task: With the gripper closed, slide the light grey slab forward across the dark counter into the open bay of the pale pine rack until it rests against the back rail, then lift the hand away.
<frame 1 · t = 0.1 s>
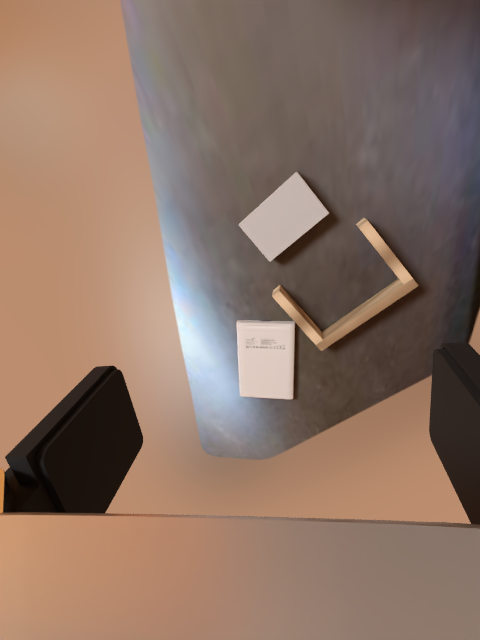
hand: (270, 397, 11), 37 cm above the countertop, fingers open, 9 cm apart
external hard drive: (266, 356, 54), on the countertop
light grey slab: (283, 216, 45), on the countertop
pine rack: (337, 281, 47), on the countertop
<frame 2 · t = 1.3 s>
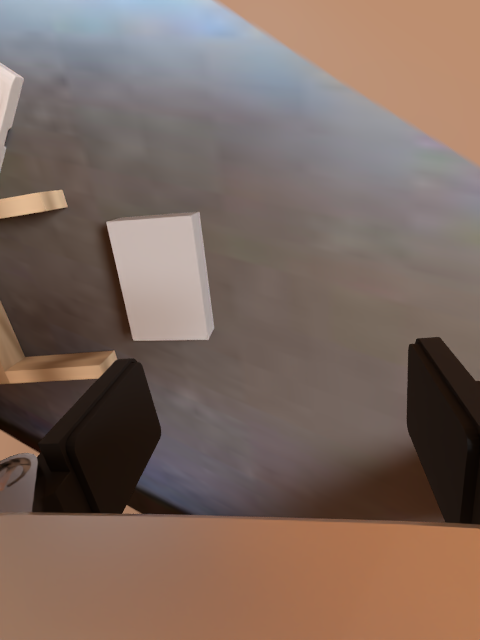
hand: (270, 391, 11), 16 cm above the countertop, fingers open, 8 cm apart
light grey slab: (170, 273, 28), on the countertop
pine rack: (44, 290, 29), on the countertop
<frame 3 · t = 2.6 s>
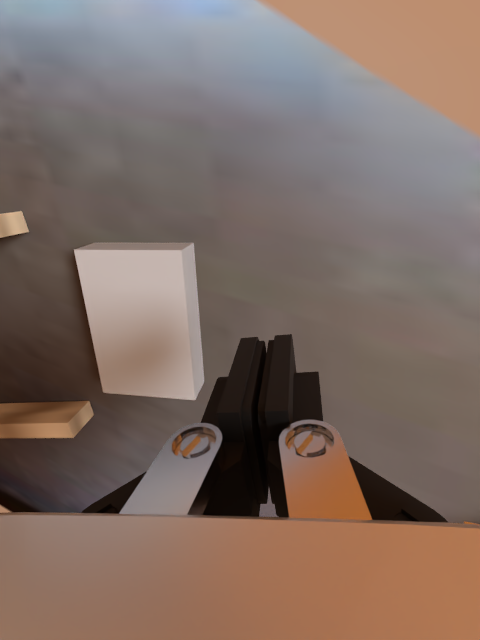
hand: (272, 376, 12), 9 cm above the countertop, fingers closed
light grey slab: (155, 313, 22), on the countertop
pine rack: (5, 328, 24), on the countertop
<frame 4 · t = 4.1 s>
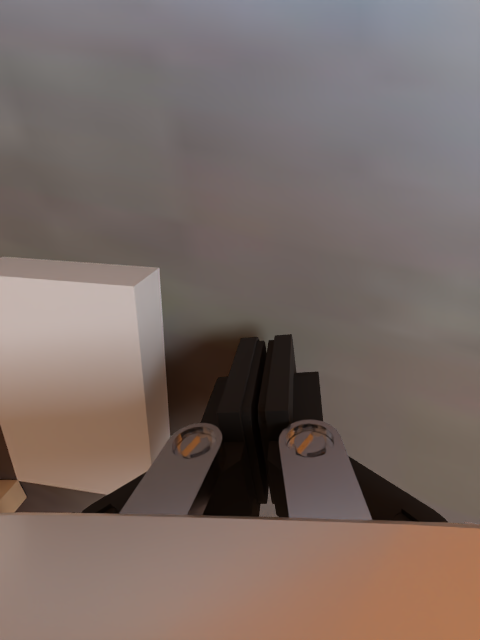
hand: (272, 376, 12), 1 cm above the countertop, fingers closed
light grey slab: (100, 364, 15), on the countertop
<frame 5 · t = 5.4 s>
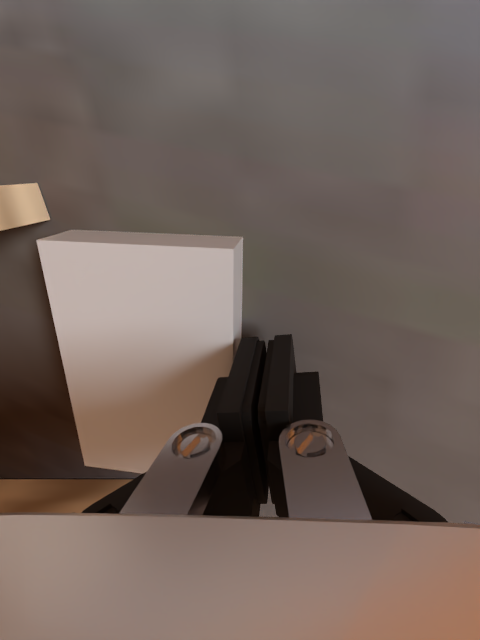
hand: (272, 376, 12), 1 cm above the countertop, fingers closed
light grey slab: (169, 343, 14), on the countertop
pine rack: (10, 375, 15), on the countertop
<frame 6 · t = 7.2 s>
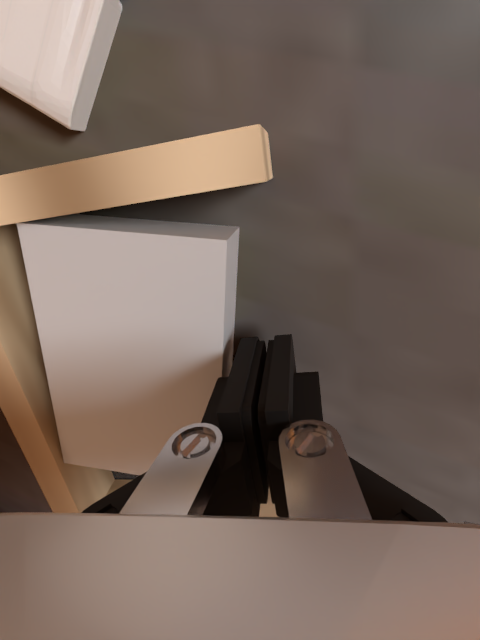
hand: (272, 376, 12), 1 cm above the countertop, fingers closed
light grey slab: (157, 338, 14), on the countertop, touching gripper, pine rack
pine rack: (175, 363, 14), on the countertop
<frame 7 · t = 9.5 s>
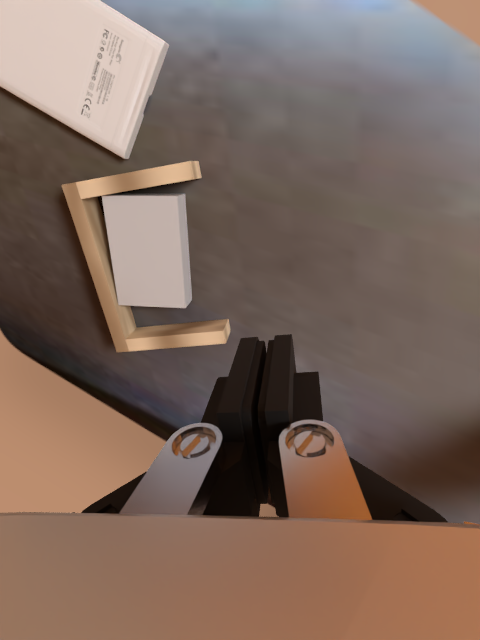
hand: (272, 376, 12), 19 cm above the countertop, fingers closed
external hard drive: (76, 62, 26), on the countertop
light grey slab: (156, 247, 31), on the countertop
pine rack: (165, 260, 31), on the countertop
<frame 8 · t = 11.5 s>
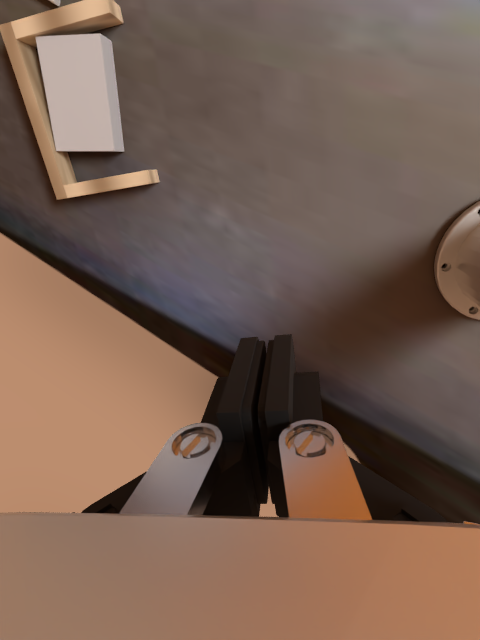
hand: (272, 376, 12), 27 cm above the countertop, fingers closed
light grey slab: (91, 100, 35), on the countertop
pine rack: (98, 111, 34), on the countertop
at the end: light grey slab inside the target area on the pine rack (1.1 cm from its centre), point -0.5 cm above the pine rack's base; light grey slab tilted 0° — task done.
